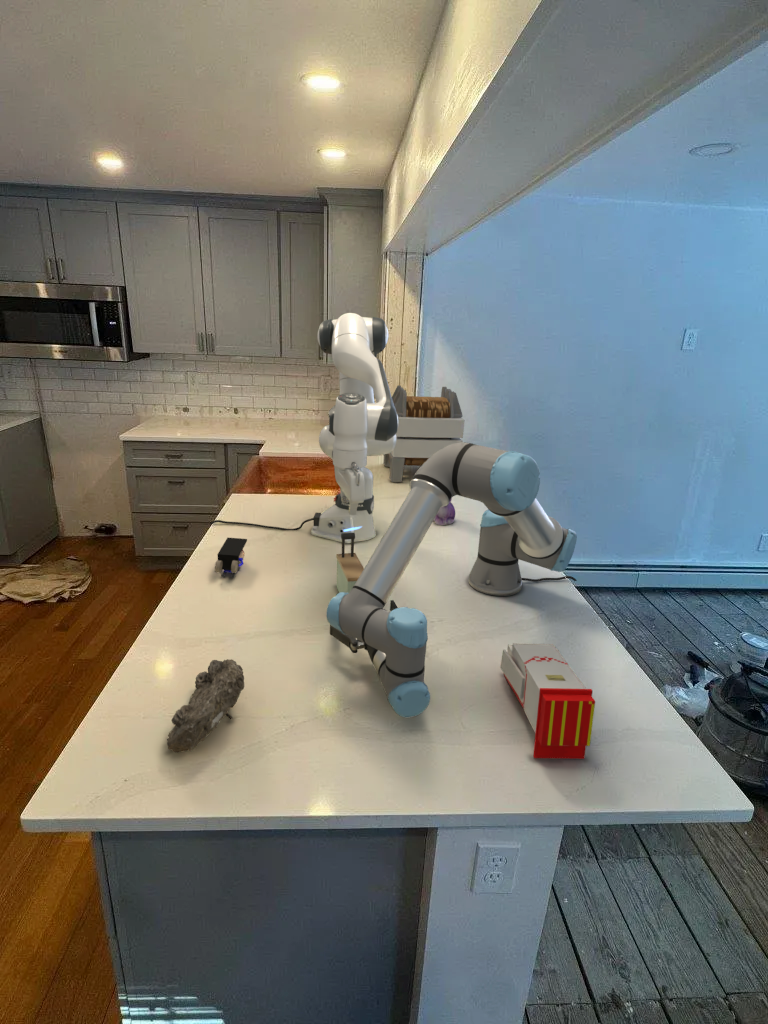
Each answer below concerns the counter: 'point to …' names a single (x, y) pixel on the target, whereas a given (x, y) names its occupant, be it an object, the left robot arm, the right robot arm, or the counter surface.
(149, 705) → the counter surface
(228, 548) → the figurine character
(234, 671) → the fossil
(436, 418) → the transformer
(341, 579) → the chest
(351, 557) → the lid
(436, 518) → the figurine
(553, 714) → the toy
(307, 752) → the counter surface
